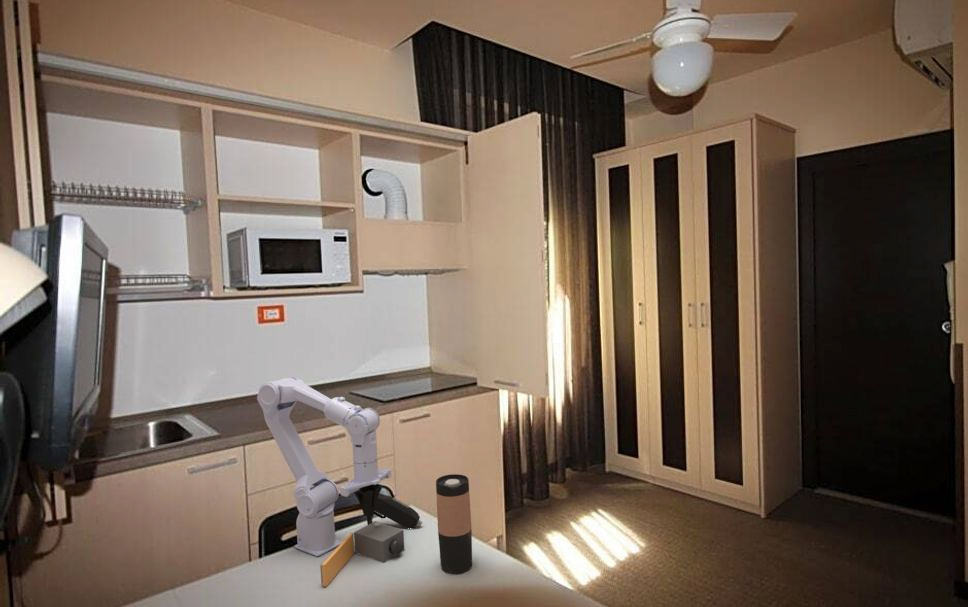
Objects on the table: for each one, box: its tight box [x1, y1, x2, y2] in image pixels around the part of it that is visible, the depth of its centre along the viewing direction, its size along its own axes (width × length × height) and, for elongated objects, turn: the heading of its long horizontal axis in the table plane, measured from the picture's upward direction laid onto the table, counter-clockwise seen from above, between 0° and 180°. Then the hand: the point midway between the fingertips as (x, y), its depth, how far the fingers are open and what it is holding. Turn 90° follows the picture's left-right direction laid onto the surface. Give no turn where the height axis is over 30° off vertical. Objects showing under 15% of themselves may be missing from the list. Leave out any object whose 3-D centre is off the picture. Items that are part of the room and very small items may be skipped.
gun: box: [366, 492, 423, 530], centre depth 146 cm, size 3×16×10 cm, turn 79°
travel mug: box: [435, 473, 473, 575], centre depth 123 cm, size 8×8×20 cm
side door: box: [319, 532, 355, 588], centre depth 125 cm, size 15×1×5 cm, turn 170°
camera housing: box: [353, 521, 405, 563], centre depth 132 cm, size 12×7×6 cm, turn 54°
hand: (368, 515), depth 131 cm, fingers closed
